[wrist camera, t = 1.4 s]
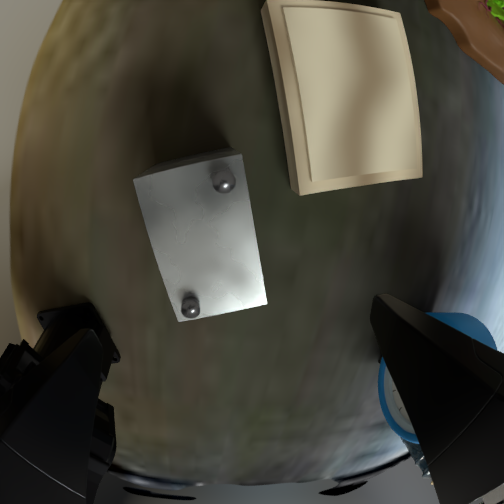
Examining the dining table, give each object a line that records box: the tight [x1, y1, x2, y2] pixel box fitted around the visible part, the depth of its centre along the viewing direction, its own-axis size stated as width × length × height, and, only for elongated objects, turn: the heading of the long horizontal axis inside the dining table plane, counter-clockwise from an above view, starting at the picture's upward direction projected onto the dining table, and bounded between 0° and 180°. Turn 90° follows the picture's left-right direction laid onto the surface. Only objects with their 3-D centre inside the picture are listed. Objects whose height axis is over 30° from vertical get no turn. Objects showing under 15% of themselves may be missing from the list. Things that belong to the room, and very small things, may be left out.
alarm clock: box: [378, 312, 497, 444], centre depth 21 cm, size 13×6×15 cm, turn 167°
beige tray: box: [261, 0, 422, 195], centre depth 16 cm, size 10×13×2 cm
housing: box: [133, 147, 267, 322], centre depth 16 cm, size 5×8×7 cm, turn 9°
